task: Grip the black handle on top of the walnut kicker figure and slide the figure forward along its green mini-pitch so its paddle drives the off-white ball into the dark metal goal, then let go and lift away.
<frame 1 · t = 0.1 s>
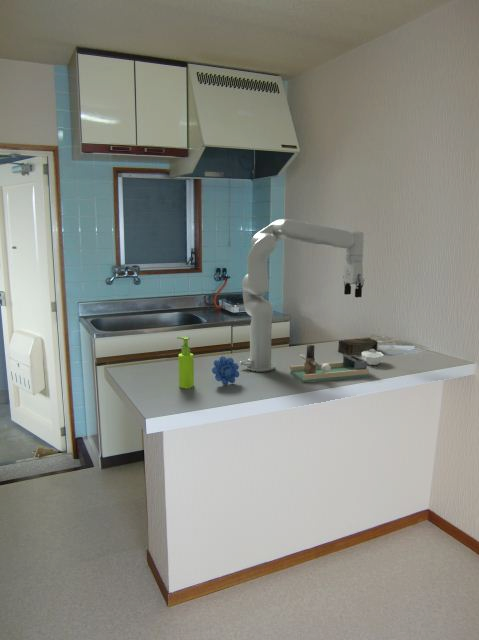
hand: (352, 295, 236), 31 cm above the worktop, tool pointing down, fingers open, 9 cm apart
soap dispenser: (185, 386, 205), on the worktop
goal: (353, 370, 222), resting on pitch
pitch: (328, 374, 219), on the worktop
blue knobbed wheel: (226, 385, 205), on the worktop
kicker: (310, 359, 215), point 8 cm above the worktop, slide at 0.0 cm
beverage carton: (357, 352, 259), on the worktop
cell model: (371, 364, 236), on the worktop
ball: (326, 368, 218), point 3 cm above the worktop, touching pitch
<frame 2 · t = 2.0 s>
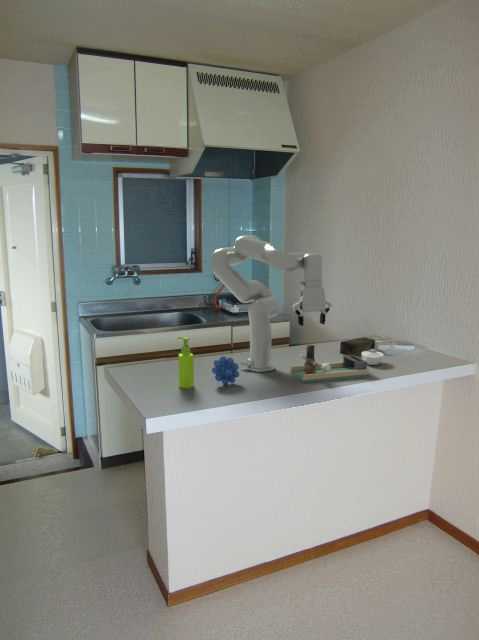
hand: (311, 324, 212), 23 cm above the worktop, tool pointing down, fingers open, 9 cm apart
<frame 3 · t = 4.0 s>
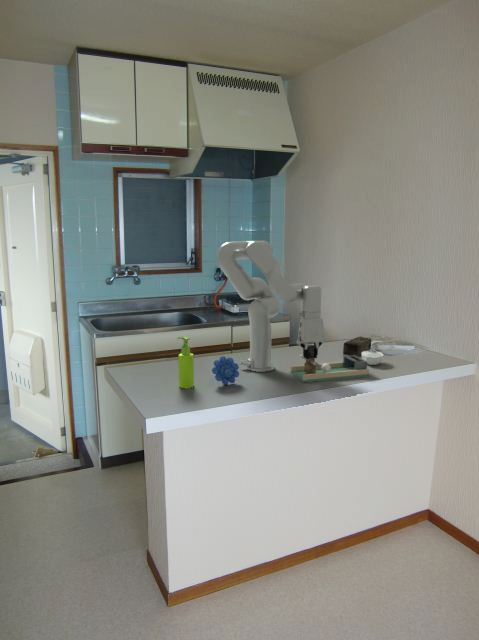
hand: (310, 357, 215), 9 cm above the worktop, tool pointing down, fingers closed on kicker, 3 cm apart
kicker: (310, 359, 215), point 8 cm above the worktop, slide at 0.0 cm, touching gripper
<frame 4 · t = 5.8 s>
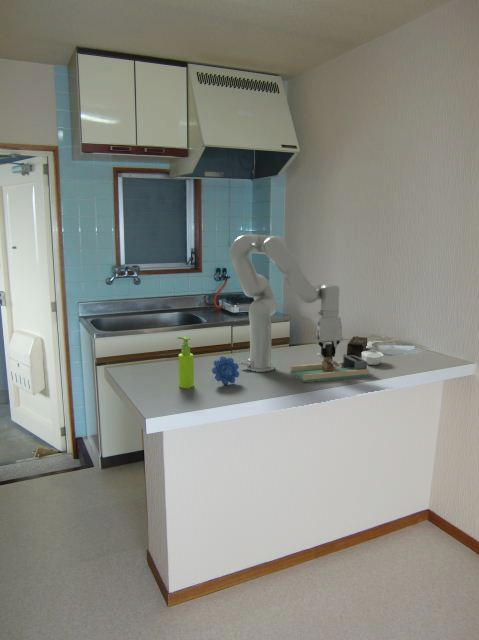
hand: (328, 355, 218), 9 cm above the worktop, tool pointing down, fingers closed on kicker, 3 cm apart
kicker: (328, 358, 218), point 8 cm above the worktop, slide at 8.3 cm, touching gripper
ball: (336, 367, 220), point 3 cm above the worktop, tilted 146°, touching pitch
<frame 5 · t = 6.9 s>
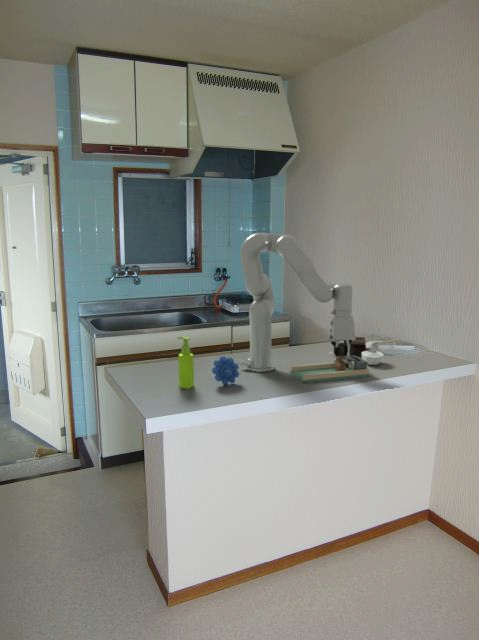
hand: (340, 354, 219), 9 cm above the worktop, tool pointing down, fingers closed on kicker, 3 cm apart
kicker: (340, 356, 219), point 8 cm above the worktop, slide at 14.2 cm, touching gripper
ball: (353, 365, 222), point 3 cm above the worktop, tilted 16°, touching pitch
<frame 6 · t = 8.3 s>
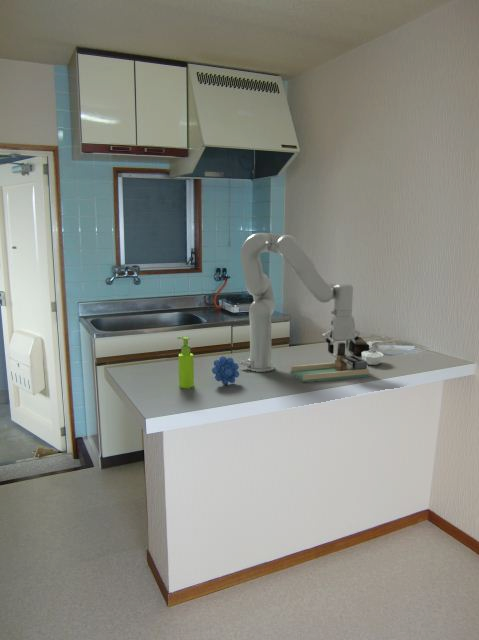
hand: (341, 352, 219), 10 cm above the worktop, tool pointing down, fingers open, 9 cm apart
kicker: (341, 356, 219), point 8 cm above the worktop, slide at 14.5 cm
ball: (347, 366, 221), point 3 cm above the worktop, tilted 61°, touching pitch
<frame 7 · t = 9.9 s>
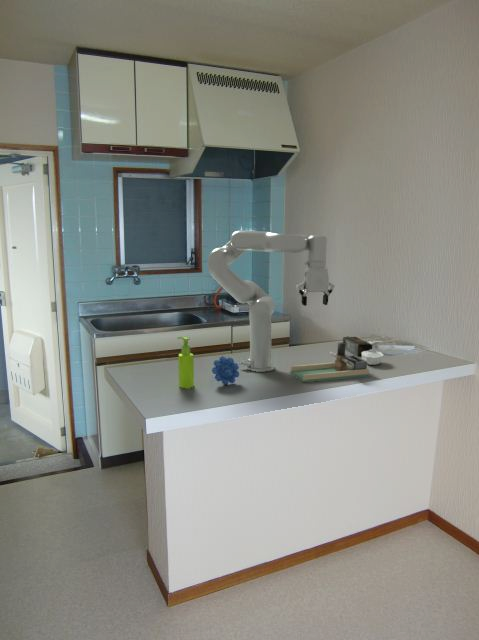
hand: (314, 304, 218), 30 cm above the worktop, tool pointing down, fingers open, 9 cm apart
ball: (349, 365, 221), point 3 cm above the worktop, tilted 38°, touching pitch
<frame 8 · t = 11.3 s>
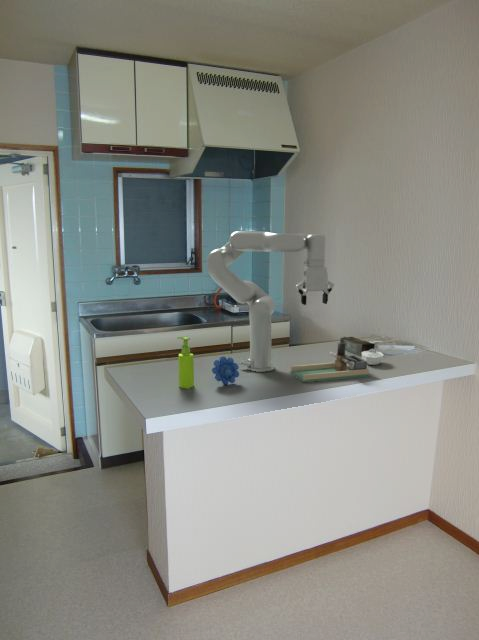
hand: (314, 303, 218), 30 cm above the worktop, tool pointing down, fingers open, 9 cm apart
ball: (351, 365, 222), point 3 cm above the worktop, tilted 17°, touching pitch
at the end: ball inside the target area (1.0 cm from its centre), point 3.2 cm above the worktop; kicker slide at 14.5 cm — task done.
